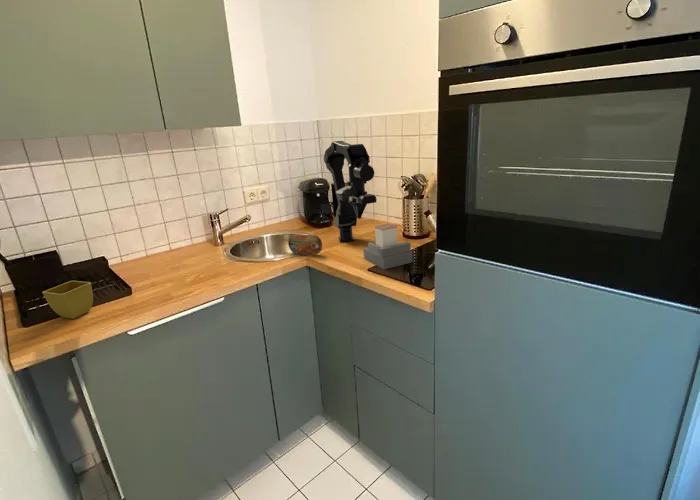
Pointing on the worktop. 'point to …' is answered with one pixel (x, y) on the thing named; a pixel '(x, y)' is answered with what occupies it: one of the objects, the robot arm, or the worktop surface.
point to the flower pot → (70, 298)
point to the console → (389, 255)
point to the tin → (305, 244)
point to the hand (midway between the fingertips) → (359, 218)
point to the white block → (385, 235)
